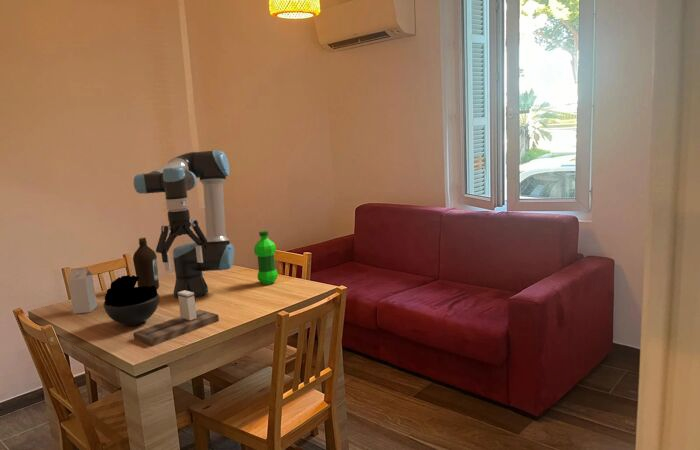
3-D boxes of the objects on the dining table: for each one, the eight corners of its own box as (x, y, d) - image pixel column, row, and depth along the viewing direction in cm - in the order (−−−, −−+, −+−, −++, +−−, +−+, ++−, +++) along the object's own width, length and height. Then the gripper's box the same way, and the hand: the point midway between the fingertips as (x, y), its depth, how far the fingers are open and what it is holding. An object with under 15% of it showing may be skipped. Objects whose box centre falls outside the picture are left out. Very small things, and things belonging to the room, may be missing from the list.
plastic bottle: (261, 279, 253) (257, 229, 249) (282, 279, 251) (277, 229, 247) (254, 285, 244) (249, 233, 240) (275, 285, 242) (270, 233, 237)
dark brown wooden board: (151, 346, 177) (150, 339, 176) (134, 339, 184) (133, 332, 184) (218, 320, 198) (218, 314, 198) (200, 315, 206) (199, 309, 205)
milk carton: (80, 308, 225) (73, 266, 222) (97, 307, 225) (90, 265, 222) (73, 314, 218) (66, 270, 215) (90, 312, 218) (83, 269, 215)
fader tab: (189, 320, 191) (186, 294, 190) (180, 317, 195) (177, 292, 194) (197, 318, 194) (194, 292, 192) (187, 315, 198) (184, 290, 196)
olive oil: (135, 293, 244) (128, 241, 240) (139, 287, 255) (132, 237, 250) (158, 290, 247) (152, 239, 242) (161, 284, 257) (155, 235, 253)
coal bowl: (142, 311, 215) (136, 268, 212) (172, 319, 204) (166, 273, 200) (96, 327, 199) (89, 280, 196) (125, 336, 188) (118, 286, 184)
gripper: (152, 215, 176) (160, 275, 180) (212, 205, 195) (218, 260, 199) (140, 214, 181) (148, 273, 184) (200, 204, 200) (206, 258, 203)
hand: (184, 266), depth 192 cm, fingers open, 13 cm apart
